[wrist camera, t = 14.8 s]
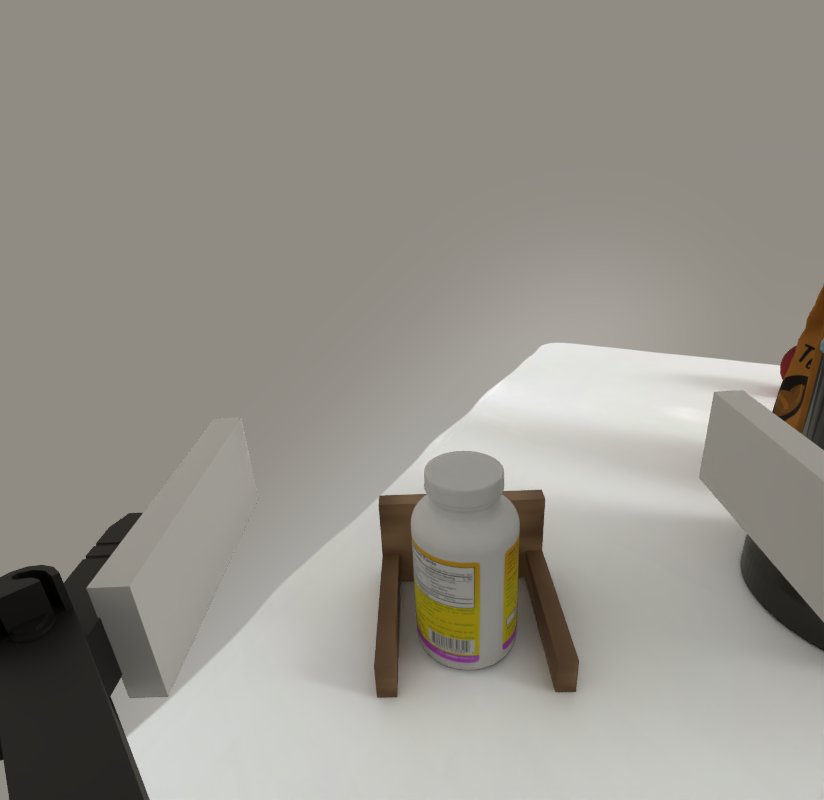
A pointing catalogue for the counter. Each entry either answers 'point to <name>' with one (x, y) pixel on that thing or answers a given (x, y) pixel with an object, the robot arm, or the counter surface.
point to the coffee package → (802, 370)
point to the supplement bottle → (465, 561)
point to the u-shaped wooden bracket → (530, 566)
